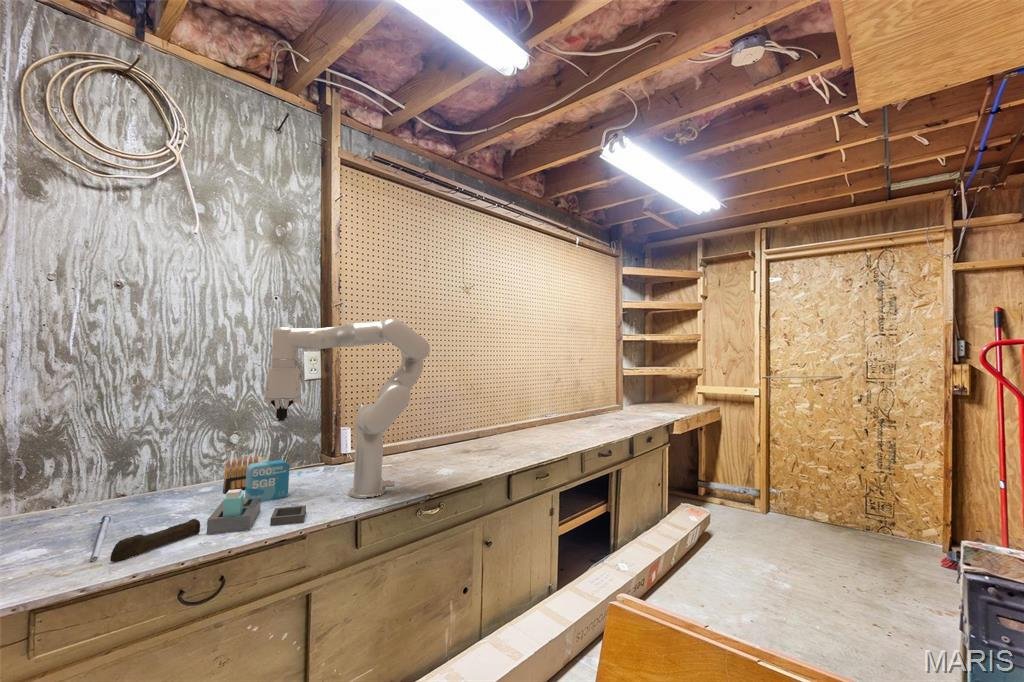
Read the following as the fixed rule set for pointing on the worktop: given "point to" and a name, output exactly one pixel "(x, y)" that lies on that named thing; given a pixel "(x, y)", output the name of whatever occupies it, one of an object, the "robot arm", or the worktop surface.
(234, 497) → the plug
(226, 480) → the ammunition clip
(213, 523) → the port
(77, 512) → the worktop surface
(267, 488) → the data package
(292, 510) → the dark square frame
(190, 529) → the hand tool
